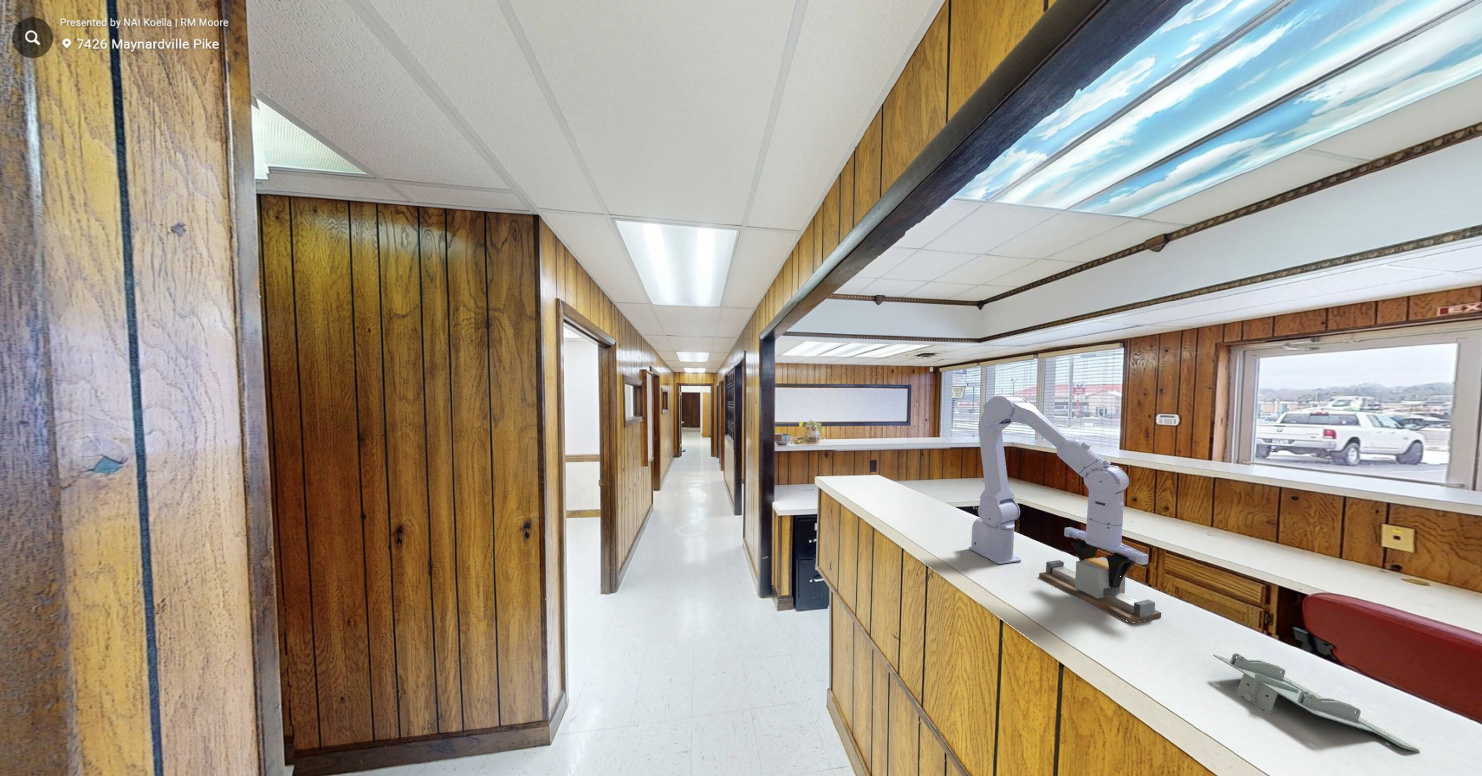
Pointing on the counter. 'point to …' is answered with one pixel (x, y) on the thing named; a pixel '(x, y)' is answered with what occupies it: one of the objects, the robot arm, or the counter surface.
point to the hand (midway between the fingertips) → (1100, 580)
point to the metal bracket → (1296, 695)
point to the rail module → (1094, 577)
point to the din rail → (1105, 591)
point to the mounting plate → (1096, 600)
